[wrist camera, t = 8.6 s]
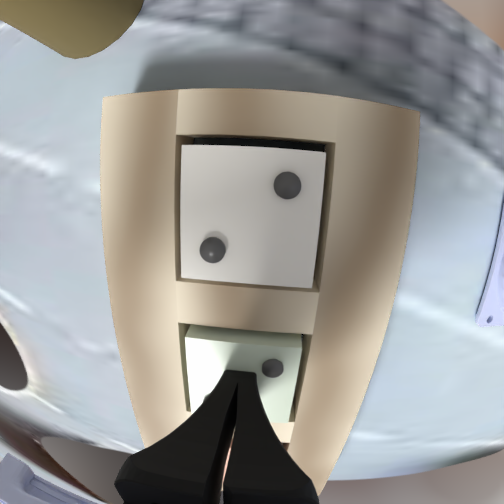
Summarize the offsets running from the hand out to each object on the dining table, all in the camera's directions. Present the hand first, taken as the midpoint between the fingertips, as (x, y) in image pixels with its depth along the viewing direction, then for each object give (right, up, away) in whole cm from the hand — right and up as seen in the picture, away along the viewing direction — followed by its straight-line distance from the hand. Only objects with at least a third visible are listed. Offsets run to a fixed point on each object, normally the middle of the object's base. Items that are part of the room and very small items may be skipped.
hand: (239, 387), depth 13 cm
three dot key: (0, +1, +4) cm, 4 cm away
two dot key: (+1, +8, +1) cm, 9 cm away
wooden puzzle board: (0, +1, +3) cm, 3 cm away
